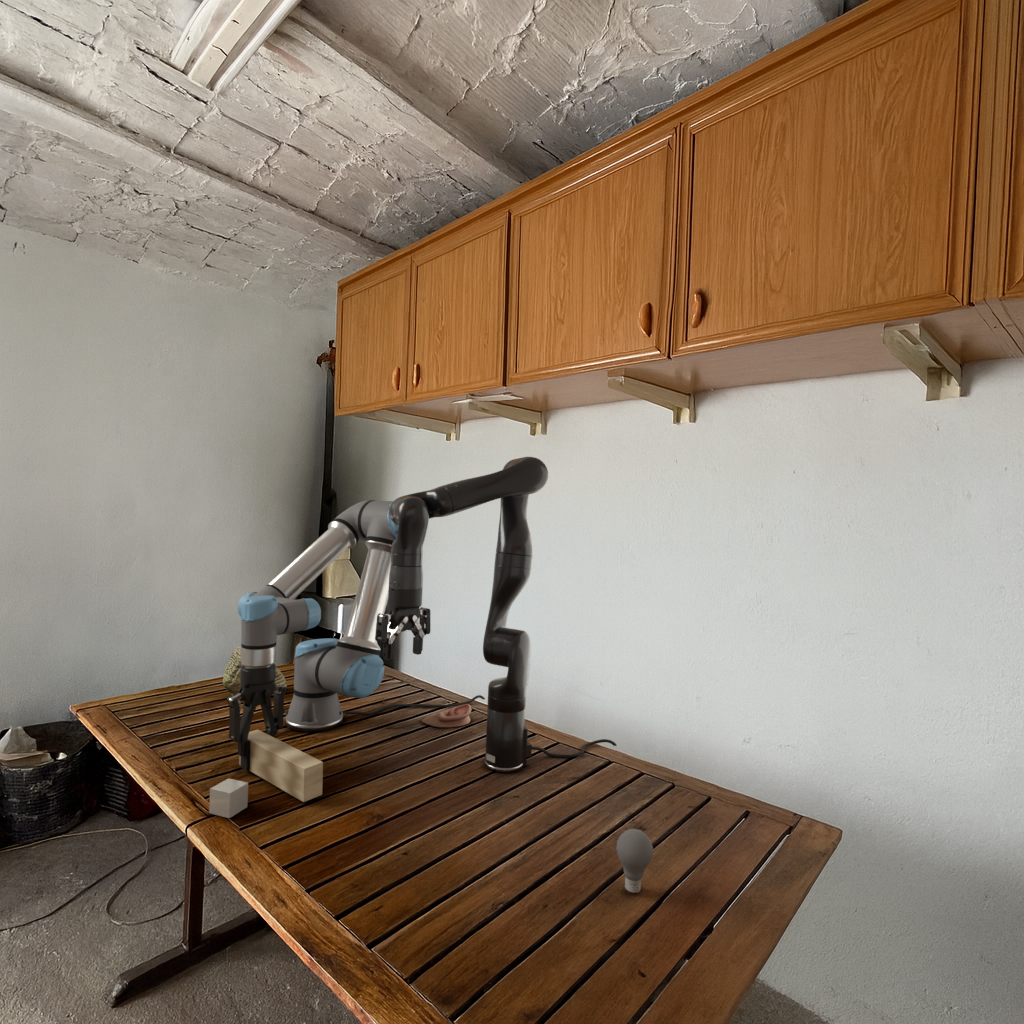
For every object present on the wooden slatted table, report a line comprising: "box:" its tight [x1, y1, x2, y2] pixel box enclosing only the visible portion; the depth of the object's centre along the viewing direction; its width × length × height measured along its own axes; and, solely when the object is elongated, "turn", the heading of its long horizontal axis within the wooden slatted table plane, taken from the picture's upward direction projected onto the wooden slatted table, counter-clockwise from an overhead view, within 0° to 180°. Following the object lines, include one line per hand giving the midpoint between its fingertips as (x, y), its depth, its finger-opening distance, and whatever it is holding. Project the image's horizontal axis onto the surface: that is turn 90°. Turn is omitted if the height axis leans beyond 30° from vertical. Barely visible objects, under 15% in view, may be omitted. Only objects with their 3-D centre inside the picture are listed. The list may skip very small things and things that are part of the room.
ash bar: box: [238, 729, 324, 803], centre depth 139 cm, size 26×4×7 cm, turn 51°
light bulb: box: [615, 828, 654, 894], centre depth 106 cm, size 6×6×10 cm
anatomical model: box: [421, 703, 472, 728], centre depth 182 cm, size 13×4×12 cm
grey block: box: [208, 778, 249, 819], centre depth 126 cm, size 5×5×5 cm
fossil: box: [222, 646, 288, 697], centre depth 198 cm, size 9×18×15 cm, turn 132°
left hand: (256, 764), depth 145 cm, fingers closed on ash bar, 4 cm apart
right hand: (402, 657), depth 142 cm, fingers open, 8 cm apart
